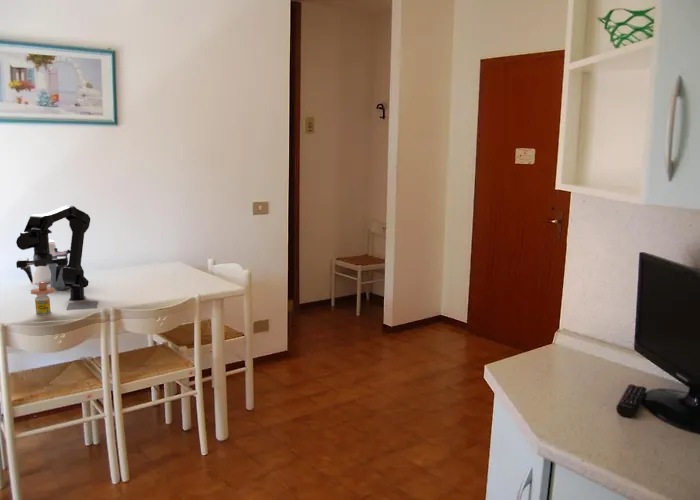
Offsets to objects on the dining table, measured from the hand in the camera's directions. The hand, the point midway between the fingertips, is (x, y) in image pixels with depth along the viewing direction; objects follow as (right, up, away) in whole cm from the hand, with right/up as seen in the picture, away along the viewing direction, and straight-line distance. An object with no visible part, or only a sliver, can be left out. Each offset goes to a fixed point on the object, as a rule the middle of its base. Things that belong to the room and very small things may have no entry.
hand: (44, 282), depth 250 cm
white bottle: (-27, -3, +53) cm, 60 cm away
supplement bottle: (+1, -13, -2) cm, 14 cm away
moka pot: (-13, -5, +41) cm, 44 cm away
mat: (+11, -11, +10) cm, 19 cm away
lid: (+1, -4, -4) cm, 5 cm away
